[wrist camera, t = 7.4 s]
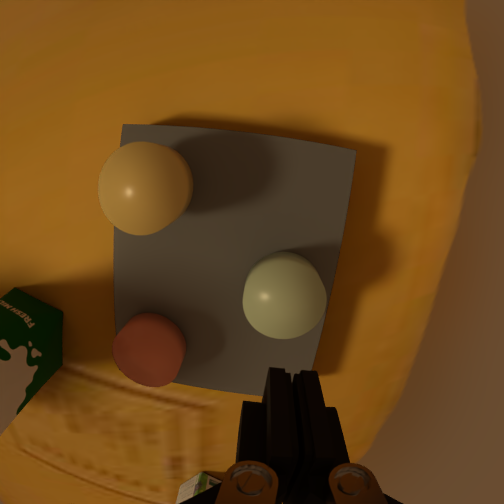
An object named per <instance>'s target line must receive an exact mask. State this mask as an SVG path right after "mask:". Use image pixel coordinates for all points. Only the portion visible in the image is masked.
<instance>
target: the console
mask: <svg viewBox="0 0 504 504" xmlns="http://www.w3.org/2000/svg"><path fill="white" fill-rule="evenodd" d="M133 142H150V143H156V144H161V145H165V146H168V147H170V148H172V149H174V150H176V151H177V152H178V153H179V154H181V155H182V157H183V158H184V159H185V160H186V162H187V163H188V165H189V167H190V170H191V172H192V177H193V194H192V198H191V201H190V203H189V206H188V207H187V209H186V211H185V212H184V213H183V214H182V215H181V216H180V217H179V218H178V219H177V220H176V221H174V222H173V223H171V224H169V225H168V226H166V227H165V228H163V229H161V230H160V231H158V232H155V233H153V234H149V235H132V234H129V233H126V232H124V231H122V230H120V229H118V228H117V227H115V226H114V306H115V325H116V336H117V334H118V333H119V332H120V331H121V330H122V328H123V327H124V326H125V325H126V323H127V322H128V321H129V320H130V319H131V318H132V317H134V316H135V315H138V314H141V313H155V314H159V315H162V316H164V317H166V318H168V319H169V320H171V321H172V322H173V323H174V324H175V325H176V326H177V327H178V328H179V329H180V330H181V332H182V334H183V336H184V338H185V341H186V354H185V357H184V359H183V362H182V364H181V367H180V369H179V372H178V374H177V376H176V377H175V379H174V380H173V381H172V382H174V383H179V384H184V385H190V386H195V387H201V388H207V389H213V390H220V391H226V392H234V393H241V394H249V395H258V396H263V393H264V388H265V383H266V378H267V373H268V369H269V367H275V368H285V372H286V373H291V380H293V377H294V374H295V373H297V374H299V373H300V371H301V370H312V366H313V363H314V359H315V355H316V352H317V348H318V344H319V340H320V336H321V332H322V328H323V324H324V320H325V316H326V312H327V308H328V304H329V299H330V295H331V290H332V286H333V281H334V277H335V272H336V267H337V263H338V258H339V253H340V248H341V243H342V237H343V232H344V227H345V221H346V216H347V210H348V204H349V198H350V192H351V186H352V179H353V173H354V166H355V159H356V151H357V150H352V149H348V148H343V147H338V146H333V145H327V144H322V143H316V142H311V141H305V140H299V139H292V138H286V137H279V136H272V135H265V134H257V133H249V132H240V131H231V130H221V129H210V128H198V127H183V126H165V125H137V124H123V127H122V135H121V143H120V147H122V146H124V145H126V144H129V143H133ZM277 252H291V253H295V254H298V255H300V256H302V257H304V258H306V259H307V260H308V261H309V262H310V263H311V264H312V265H313V266H314V267H315V269H316V270H317V272H318V275H319V277H320V279H321V281H322V283H323V285H324V287H325V291H326V297H327V302H326V308H325V311H324V314H323V316H322V318H321V319H320V321H319V322H318V324H317V325H316V326H315V327H314V328H313V329H311V330H310V331H309V332H307V333H305V334H303V335H301V336H299V337H295V338H291V339H276V338H271V337H268V336H266V335H263V334H262V333H260V332H258V331H257V330H256V329H255V328H254V327H253V326H252V325H251V324H250V323H249V321H248V320H247V318H246V316H245V313H244V309H243V294H244V288H245V282H246V278H247V275H248V273H249V271H250V269H251V268H252V267H253V265H254V264H255V263H256V262H257V261H259V260H260V259H261V258H263V257H265V256H267V255H269V254H272V253H277ZM119 370H120V369H119Z"/></svg>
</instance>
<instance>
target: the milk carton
mask: <svg viewBox="0 0 504 504" xmlns="http://www.w3.org/2000/svg"><path fill="white" fill-rule="evenodd" d="M62 325H63V312H62V311H60V310H58V309H56V308H54V307H52V306H50V305H48V304H46V303H44V302H42V301H40V300H38V299H36V298H34V297H32V296H30V295H28V294H26V293H25V292H23V291H21V290H19V289H17V288H13V289H12V290H11V291H9V292H8V293H7V294H6V295H4V296H3V297H2V298H1V299H0V435H1V434H2V433H3V432H4V430H5V429H6V428H7V427H8V426H9V424H10V423H11V422H12V421H13V420H14V418H15V417H16V416H17V415H18V414H19V412H20V411H21V410H22V409H23V408H24V407H25V405H26V404H27V403H28V402H29V401H30V400H31V398H32V397H33V396H34V395H35V394H36V393H37V392H38V390H39V389H40V388H41V387H42V386H43V385H44V384H45V383H46V382H47V381H48V380H49V379H50V377H51V376H52V375H53V374H54V373H55V372H56V371H57V370H58V369H59V368H60V367H61V366H62Z"/></svg>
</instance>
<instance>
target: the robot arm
mask: <svg viewBox="0 0 504 504" xmlns="http://www.w3.org/2000/svg"><path fill="white" fill-rule="evenodd" d="M282 501H283V504H403V503H401V502H398V501H397V500H395V499H393V498H391V497H390V496H388V495H386V494H384V493H383V492H382V490H381V488H380V486H379V484H378V482H377V480H376V478H375V476H374V474H373V473H372V472H371V471H370V470H369V469H368V468H366V467H365V466H362V465H360V464H355V463H350V461H349V457H348V452H347V448H346V444H345V440H344V436H343V433H342V429H341V425H340V421H339V417H338V413H337V410H336V408H335V407H325V403H324V398H323V394H322V390H321V385H320V381H319V377H318V373H317V371H311V370H301V371H300V373H299V374H297V373H295V374H294V377H293V380H291V373H286V372H285V368H275V367H269V369H268V373H267V378H266V383H265V388H264V393H263V398H262V403H260V402H250V401H243V404H242V410H241V417H240V424H239V432H238V442H237V453H236V463H235V464H233V465H232V466H231V467H230V468H228V470H227V471H226V473H225V475H224V478H223V481H222V482H220V483H218V484H217V485H215V486H213V487H211V488H209V489H207V490H205V491H203V492H201V493H199V494H197V495H195V496H193V497H191V498H189V499H187V500H185V501H183V502H181V503H179V504H282Z"/></svg>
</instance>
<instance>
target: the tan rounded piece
mask: <svg viewBox="0 0 504 504" xmlns="http://www.w3.org/2000/svg"><path fill="white" fill-rule="evenodd" d="M192 194H193V177H192V172H191V170H190V167H189V165H188V163H187V162H186V160H185V159H184V158H183V157H182V155H181V154H179V153H178V152H177V151H176V150H174V149H172V148H170V147H168V146H165V145H161V144H156V143H150V142H133V143H129V144H126V145H124V146H122V147H120V148H119V149H117V150H116V151H115V152H114V153H113V154H112V155H111V156H110V157H109V158H108V159H107V161H106V162H105V164H104V166H103V168H102V170H101V173H100V177H99V182H98V196H99V201H100V204H101V207H102V210H103V212H104V214H105V215H106V217H107V218H108V219H109V221H110V222H111V223H112V224H113V225H114V226H115V227H117V228H118V229H120V230H122V231H124V232H126V233H129V234H132V235H149V234H153V233H155V232H158V231H160V230H161V229H163V228H165V227H166V226H168V225H169V224H171V223H173V222H174V221H176V220H177V219H178V218H179V217H180V216H181V215H182V214H183V213H184V212H185V211H186V209H187V207H188V206H189V203H190V201H191V198H192Z"/></svg>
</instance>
